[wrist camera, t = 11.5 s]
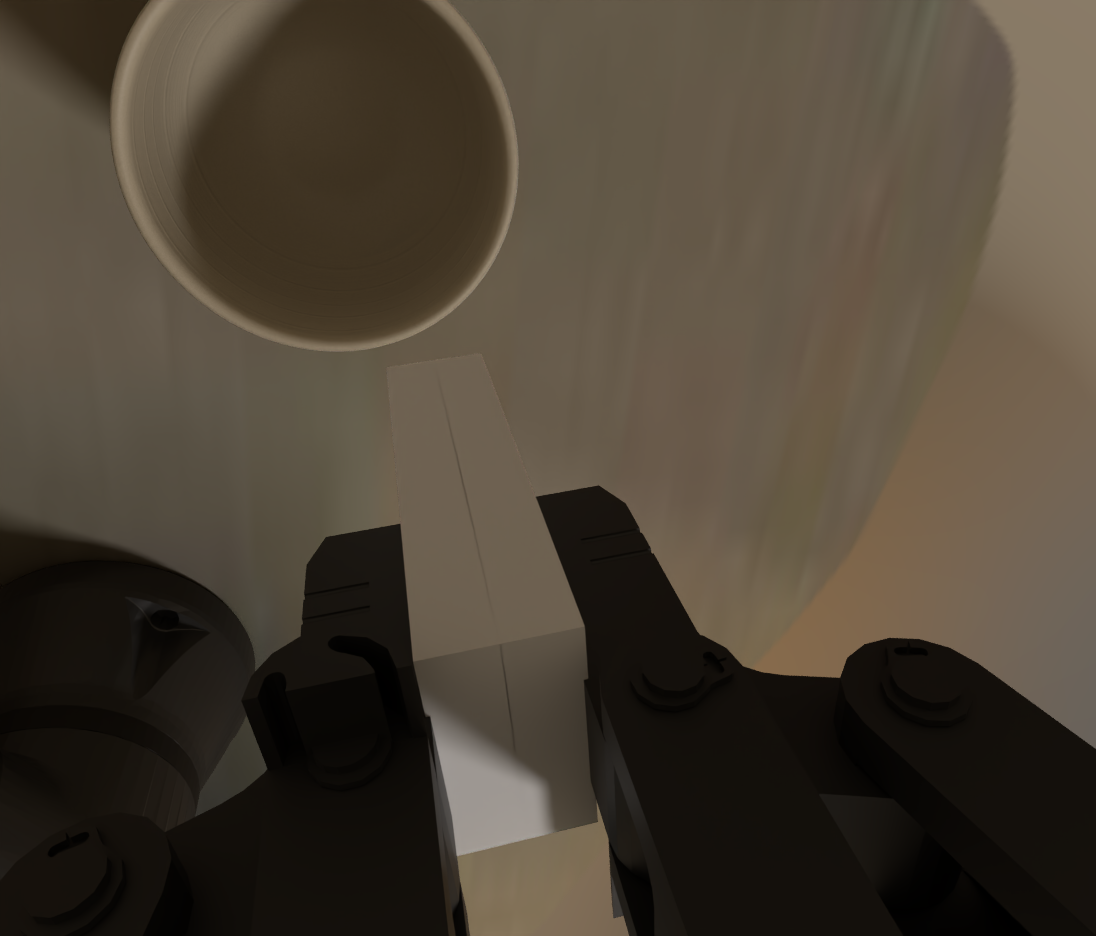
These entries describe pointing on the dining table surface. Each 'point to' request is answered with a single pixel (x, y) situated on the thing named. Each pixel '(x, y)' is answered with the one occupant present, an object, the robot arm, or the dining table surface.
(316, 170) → the planter
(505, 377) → the dining table surface
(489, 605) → the robot arm
